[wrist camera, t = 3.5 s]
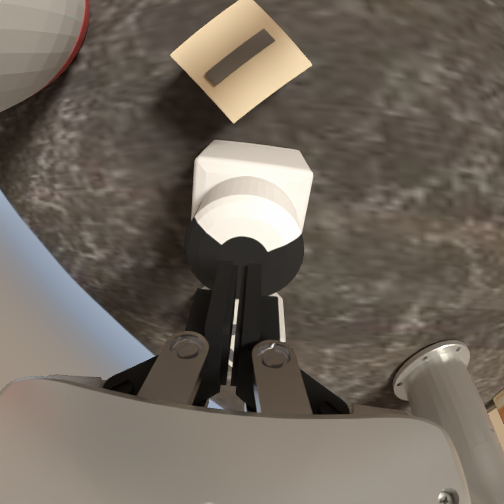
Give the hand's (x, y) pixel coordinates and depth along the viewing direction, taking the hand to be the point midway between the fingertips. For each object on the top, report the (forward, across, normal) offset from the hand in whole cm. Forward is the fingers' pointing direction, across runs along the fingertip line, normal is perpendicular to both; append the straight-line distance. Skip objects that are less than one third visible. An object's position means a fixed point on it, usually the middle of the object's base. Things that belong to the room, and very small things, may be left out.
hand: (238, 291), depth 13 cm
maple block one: (+15, +1, -10) cm, 18 cm away
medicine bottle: (+15, 0, 0) cm, 15 cm away
